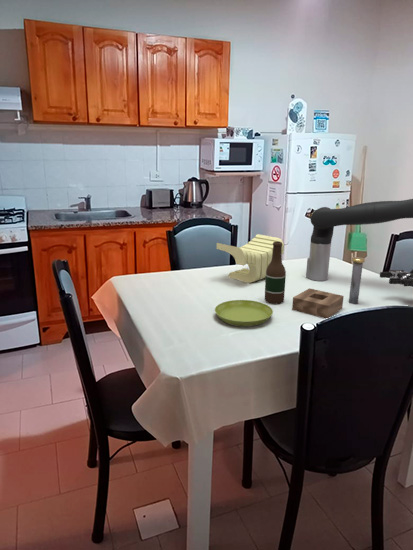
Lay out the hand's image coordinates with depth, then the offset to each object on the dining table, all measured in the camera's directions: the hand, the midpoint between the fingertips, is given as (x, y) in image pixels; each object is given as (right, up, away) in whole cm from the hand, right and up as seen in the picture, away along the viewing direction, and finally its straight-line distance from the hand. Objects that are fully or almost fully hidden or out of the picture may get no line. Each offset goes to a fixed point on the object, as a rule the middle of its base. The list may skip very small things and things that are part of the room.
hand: (384, 277), depth 162 cm
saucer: (-57, -14, -13) cm, 60 cm away
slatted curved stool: (-49, 0, +34) cm, 60 cm away
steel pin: (-11, -10, +3) cm, 15 cm away
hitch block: (-28, -12, -5) cm, 30 cm away
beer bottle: (-43, -9, +3) cm, 44 cm away
